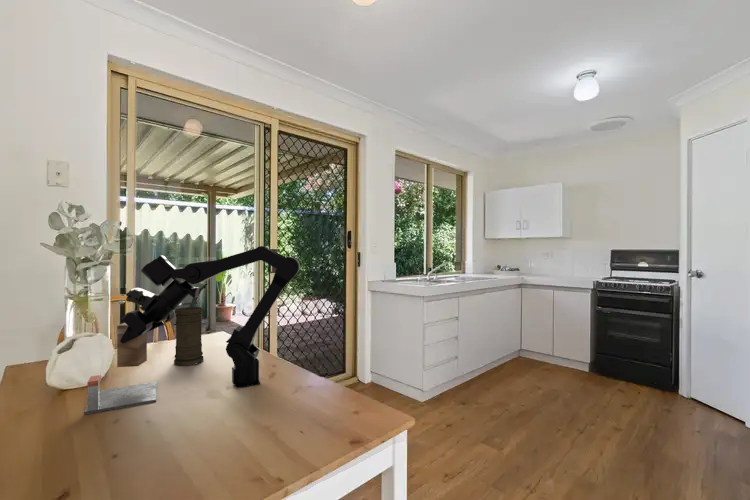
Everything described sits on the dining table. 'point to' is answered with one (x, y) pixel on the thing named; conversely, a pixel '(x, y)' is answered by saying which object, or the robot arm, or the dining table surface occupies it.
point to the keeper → (117, 396)
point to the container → (188, 336)
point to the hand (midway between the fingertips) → (126, 339)
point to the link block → (130, 349)
